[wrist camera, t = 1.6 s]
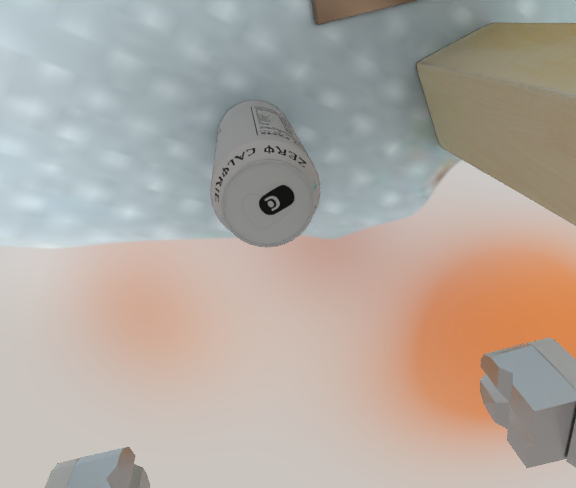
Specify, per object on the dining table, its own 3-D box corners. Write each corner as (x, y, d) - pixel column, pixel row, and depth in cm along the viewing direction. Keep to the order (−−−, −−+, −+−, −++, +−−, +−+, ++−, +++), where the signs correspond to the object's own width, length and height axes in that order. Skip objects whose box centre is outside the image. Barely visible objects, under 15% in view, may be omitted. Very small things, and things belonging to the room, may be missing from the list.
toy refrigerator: (518, 110, 36) (820, 200, 17) (439, 149, 37) (650, 275, 18) (500, 16, 32) (862, 6, 14) (414, 62, 33) (645, 110, 14)
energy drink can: (202, 124, 33) (184, 189, 20) (265, 83, 32) (289, 123, 19) (244, 183, 36) (251, 275, 23) (303, 147, 35) (346, 220, 22)
